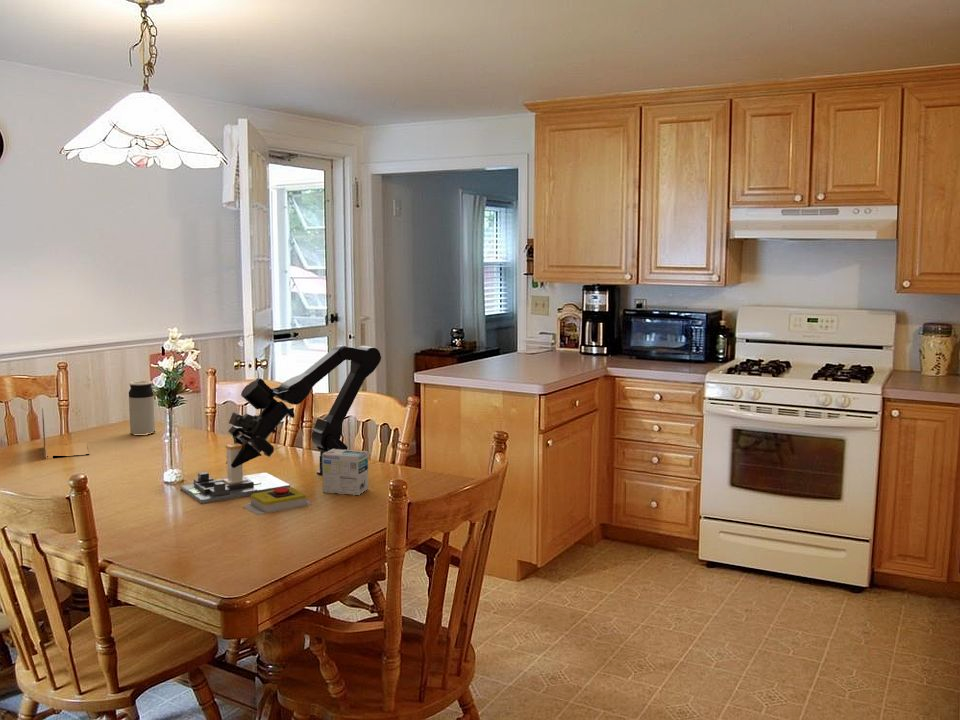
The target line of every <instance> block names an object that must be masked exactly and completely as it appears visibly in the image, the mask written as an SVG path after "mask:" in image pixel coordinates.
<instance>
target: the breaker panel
mask: <svg viewBox="0 0 960 720" xmlns="http://www.w3.org/2000/svg"><path fill="white" fill-rule="evenodd" d="M243 478H244V479H246V480H247V482H241V483H235V484H229V485H225V483H224V482H223V480H224V479H228V477H224V478H217V479H214V478H213V477H211V476H210V473H209V472H207V471H202V472H201V471H200V472H198V473H197V478H193V482H192V483H189V484H183V485H180V490H181V489H182V490H183V491H182V490H181V491H182V492H184V491H185V492H186V493H185V492H184V493H185V494H187V493H188V494H189V495H188V494H187V495H188V496H190V497H191V496H192V497H193V498H192V497H191V498H192V499H194V500H195V499H196V500H195V501H196V502H198V503H199V504H201V505H203V504H206V503H214V502H219V501H220V502H221V501H225V500H230V499H232V500H233V499H236V498H241V497H243V498H244V497H247V496H251V495H252V494H254V493H260V492H265V491H271V490H274V489H276V488H282V487H283V488H288V487H291V484H290V483H288V482H285V481H284V480H281V479H280V478H278V477H276V476H274V475H272V474H270V473H268V472H261V473H252V474H247V475H243Z"/></svg>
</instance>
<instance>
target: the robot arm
mask: <svg viewBox="0 0 960 720" xmlns="http://www.w3.org/2000/svg"><path fill="white" fill-rule="evenodd" d="M345 361H350V365H349V367H350V368H349V373H348V375H347V377H346V378H345V380H344V382H343V385H342V387H341V388H340V391H339V393H338V394H337V396H336V398H335V400H334V402H333V404H332V405H331V408H330V410H329V412H328V413H327V415H326V416H325V417H324V418H323V419H322V418H319V417H317V419H316V421H315V423H314V426H313V427H312V428H311V429H310V430H311V435H310V438H311V441H312V443H313V444H314V445H315V446H316V448H317V451H319V454H320V455H319V470H317V471H316V474H317V475H322V476H323V466H322V454H323V453H325V452H327V451H329V450H331V449H341V450H348V446H347V445H346V444H345V443H344V442H343V441H342V440H341V437H342V434H343V423H344V421H345V419H346V417H347V415H348V413H349V411H350V410H351V407H352V405H353V403H354V401H355V399H356V397H357V395H358V394H359V392H360V390H361V387H362V386H363V384H364V381H365V379H367V377H369V376H370V375H371V374H372V373H373V372H374V371H375V370H376V369H377V367H378V366H379V364H380V363H381V361H382V356H381V353H380V350H379V349H378V348H377V347H373V346H369V345H368V346H367V345H360V346H357V347H356V348H355V347H350V346H345V345H341V344H337V345H335V346H334V347H333V348H332V349H331V350H329V352H327V353H326V354H324V356H322V357H320V359H319V360H317V361H316V362H314V364H313V365H311V366H310V367H308V368H307V370H305V371H304V372H302V373H301V374H299V375H296V376H293V377H291V378H289V379H287V380H285V381H283V382H281V383H280V385H279V386H276V387H270V386H269V385H268V384H267V383H266V382H265V380H263V379H262V378H261V377H257V378H256V379H255V380H253V381H251V382H250V383H248V384H246V385H245V386H244V388H243V389H242V391H241V392H240V396H241V397H242V398H243V399H244V400H245V401H246V402H248V404H249V405H251V406H252V407H253V408H254V409H256V410H261V412H260V413H259V414H258V415H256V414H255V415H252V414H249V413H245V414H243V415H241V414H240V413H236V412H232V413H231V415H230V419H229V421H228V424H230V425H232V426H231V427H230V428H229V430H228V431H227V432H228V433H229V435H231V436H232V439H233V444H234V443H239V444H241V445H242V449H241V450H240V452H239V453H238V455H237V456H236V458H235V459H234V461H233V462H232V464H231V466H232V467H233V468H235V467H237V466H239V465H241V464H242V465H243V464H245V463H247V462H249V461H251V460H254V459H256V458H258V457H261V456H262V453H261V452H263V455H265V457H268V458H270V457H271V456H272V454H273V453H274V452H275V448H274V445H272V444H271V443H270V442H269V441H267V439H268V438H269V436H270V435H271V434H274V435H275V434H276V432H277V430H276V428H277V427H278V426H279V425H280V424H281V422H282V421H283V420H284V419H285V418H286V416H287V417H288V418H290V419H291V418H292V419H294V418H295V408H294V407H293V406H287V405H286V404H285V403H288V404H290V405H296V406H297V405H300V404H302V402H304V400H305V399H306V398H307V397H308V396H309V395H310V393H311V391H312V389H313V387H314V386H315V385H316V384H317V383H318V382H320V381H321V380H323V379H324V378H325V377H327V375H328V374H329V373H331V372H332V371H333V370H335V369H336V368H337V367H338V366H339V365H341V364H342V363H343V362H345ZM275 398H277V399H279V401H277V400H276V399H275ZM225 463H226V464H227V461H226V462H225Z"/></svg>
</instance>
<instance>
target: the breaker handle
mask: <svg viewBox="0 0 960 720" xmlns="http://www.w3.org/2000/svg"><path fill="white" fill-rule="evenodd" d="M225 448H226V462H227V463H226V464H227V465H226V468H227V469H226V471H227V472H226V473H227V475H226V476H227V478H228V479H224V480H223V482H224V483H225V485H229V484H235V483H241V482H247V480H246V479H244V478H243V476H244V475H243V464H241V465H239V466H237V467H235V468H233V467H232V466H231V464H232V462H233V461H234V459H235V458H236V456H237V455H238V453H239V452H240V450H241V449H242V445H241V444H239V443H234V442H233V443H228V444H225Z"/></svg>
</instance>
